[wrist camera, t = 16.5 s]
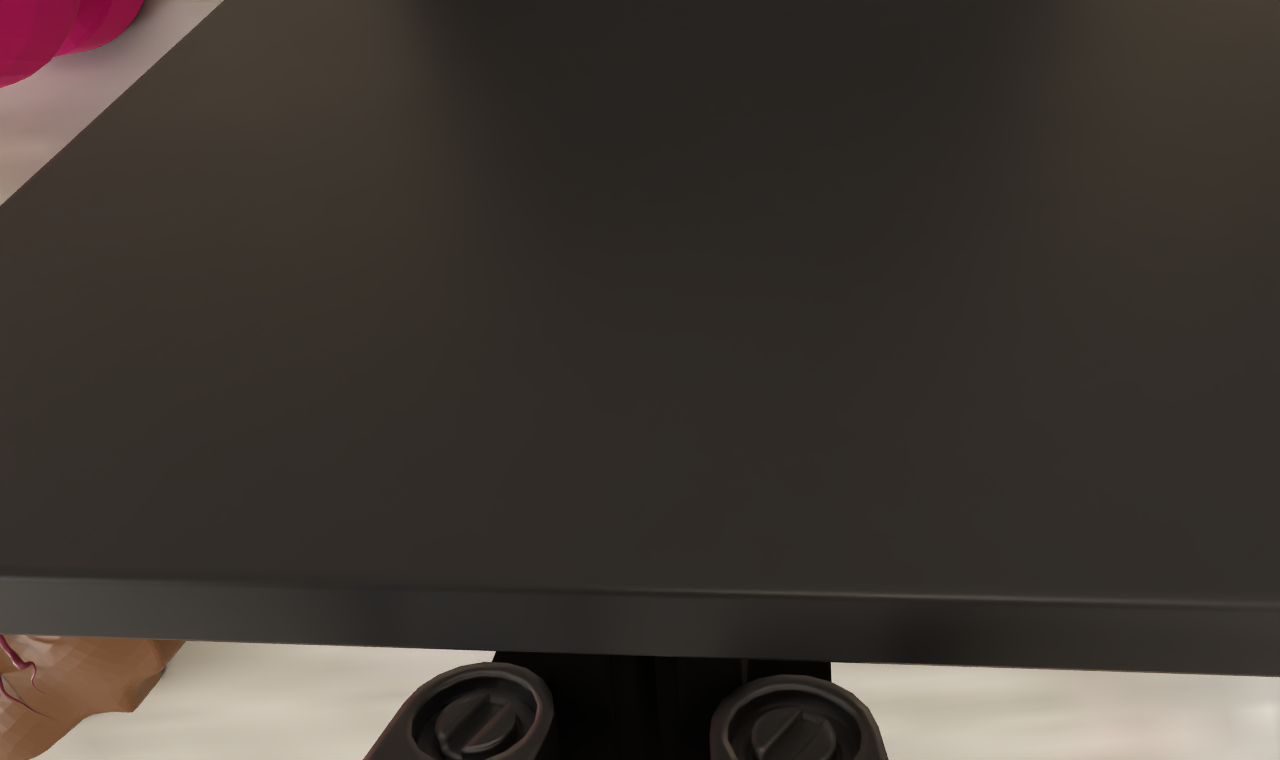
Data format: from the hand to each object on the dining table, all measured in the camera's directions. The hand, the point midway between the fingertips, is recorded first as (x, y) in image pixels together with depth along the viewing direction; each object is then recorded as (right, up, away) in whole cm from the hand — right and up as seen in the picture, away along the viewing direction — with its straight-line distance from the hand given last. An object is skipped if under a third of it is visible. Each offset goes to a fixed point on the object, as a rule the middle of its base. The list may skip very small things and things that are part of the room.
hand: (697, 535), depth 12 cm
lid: (0, +6, 0) cm, 6 cm away
